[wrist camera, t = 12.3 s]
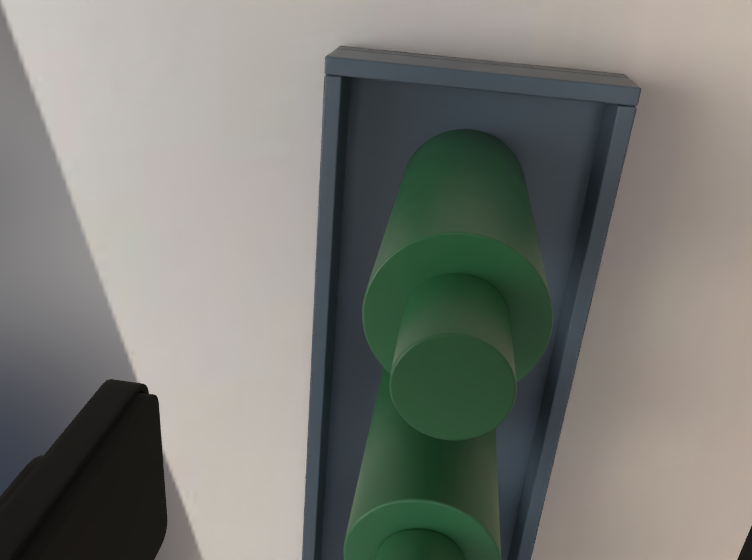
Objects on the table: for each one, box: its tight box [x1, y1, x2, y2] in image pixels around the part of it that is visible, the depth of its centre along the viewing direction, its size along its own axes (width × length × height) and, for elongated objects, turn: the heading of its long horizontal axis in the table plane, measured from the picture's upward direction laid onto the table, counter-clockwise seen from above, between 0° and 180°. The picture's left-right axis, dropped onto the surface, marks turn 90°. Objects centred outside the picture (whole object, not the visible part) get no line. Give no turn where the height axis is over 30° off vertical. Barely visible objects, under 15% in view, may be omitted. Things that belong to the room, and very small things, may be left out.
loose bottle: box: [362, 129, 553, 441], centre depth 21 cm, size 5×5×14 cm
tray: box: [302, 46, 641, 560], centre depth 31 cm, size 34×10×3 cm, turn 175°
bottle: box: [344, 367, 501, 560], centre depth 24 cm, size 5×5×14 cm
